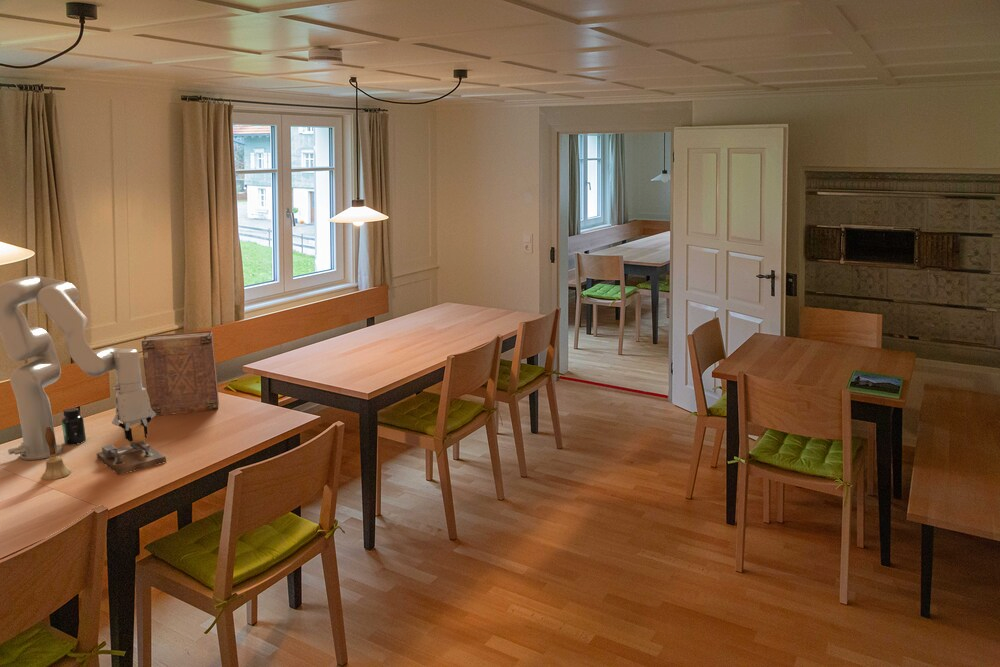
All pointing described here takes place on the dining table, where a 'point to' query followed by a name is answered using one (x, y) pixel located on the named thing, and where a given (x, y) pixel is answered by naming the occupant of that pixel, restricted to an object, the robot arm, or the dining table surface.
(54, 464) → the hand bell
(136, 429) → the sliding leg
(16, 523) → the dining table surface
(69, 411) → the supplement bottle
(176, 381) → the book
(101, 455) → the gauge plate
